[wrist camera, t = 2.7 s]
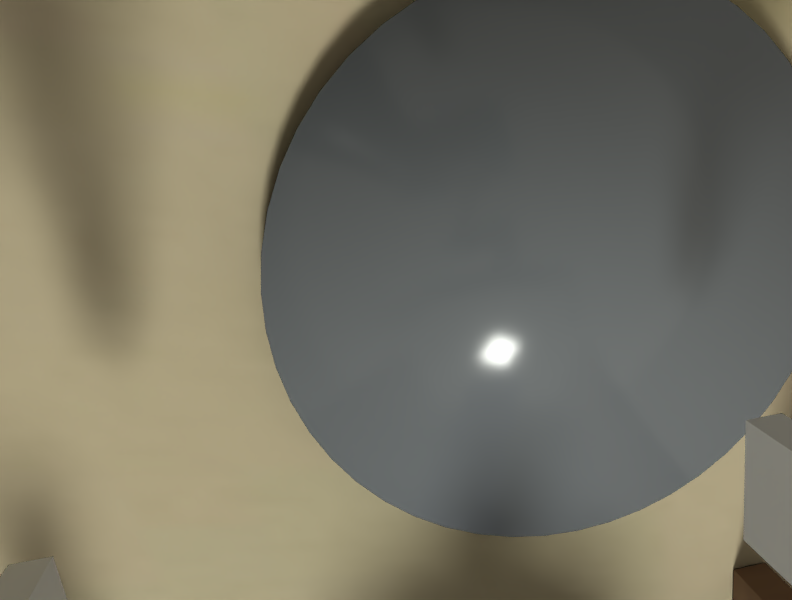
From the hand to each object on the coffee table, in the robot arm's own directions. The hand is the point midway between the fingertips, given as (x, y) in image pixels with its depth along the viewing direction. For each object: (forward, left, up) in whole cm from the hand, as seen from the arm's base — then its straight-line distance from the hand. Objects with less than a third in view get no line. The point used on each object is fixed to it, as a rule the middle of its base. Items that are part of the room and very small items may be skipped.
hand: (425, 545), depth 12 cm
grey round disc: (-3, +4, -5) cm, 7 cm away
